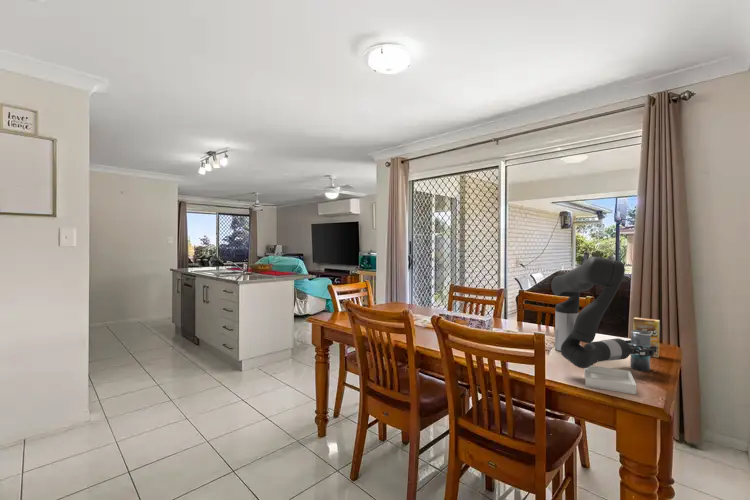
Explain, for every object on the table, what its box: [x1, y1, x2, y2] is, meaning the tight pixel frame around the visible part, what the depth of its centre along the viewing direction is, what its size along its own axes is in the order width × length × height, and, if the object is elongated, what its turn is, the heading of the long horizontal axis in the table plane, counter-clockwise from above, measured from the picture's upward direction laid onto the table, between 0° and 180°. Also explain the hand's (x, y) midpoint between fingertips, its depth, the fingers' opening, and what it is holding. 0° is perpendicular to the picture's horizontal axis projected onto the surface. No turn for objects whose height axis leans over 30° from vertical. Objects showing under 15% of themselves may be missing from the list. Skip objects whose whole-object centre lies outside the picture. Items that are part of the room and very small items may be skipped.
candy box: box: [632, 316, 661, 358], centre depth 155 cm, size 9×4×15 cm, turn 50°
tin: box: [629, 329, 651, 372], centre depth 138 cm, size 6×6×14 cm
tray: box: [583, 365, 637, 395], centre depth 125 cm, size 14×14×3 cm
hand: (644, 345), depth 139 cm, fingers open, 8 cm apart
